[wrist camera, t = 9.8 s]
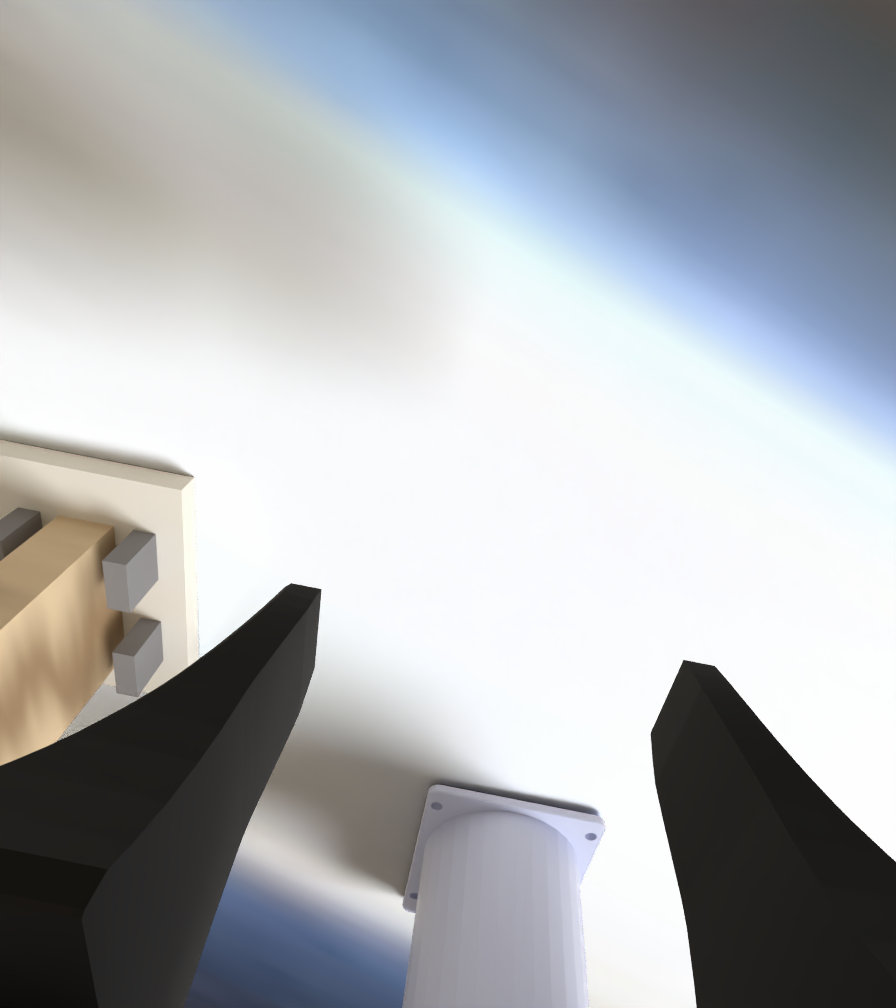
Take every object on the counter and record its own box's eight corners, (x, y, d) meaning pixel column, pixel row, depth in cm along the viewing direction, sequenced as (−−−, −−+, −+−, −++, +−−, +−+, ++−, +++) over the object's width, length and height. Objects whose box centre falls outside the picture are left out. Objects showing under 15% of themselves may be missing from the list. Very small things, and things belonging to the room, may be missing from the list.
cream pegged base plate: (199, 683, 28) (166, 739, 25) (39, 652, 28) (-11, 704, 25) (194, 477, 23) (152, 519, 20) (1, 440, 23) (-66, 476, 21)
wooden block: (126, 653, 26) (-20, 836, 19) (77, 643, 26) (-86, 823, 19) (113, 525, 23) (-63, 687, 16) (58, 515, 23) (-142, 672, 16)
